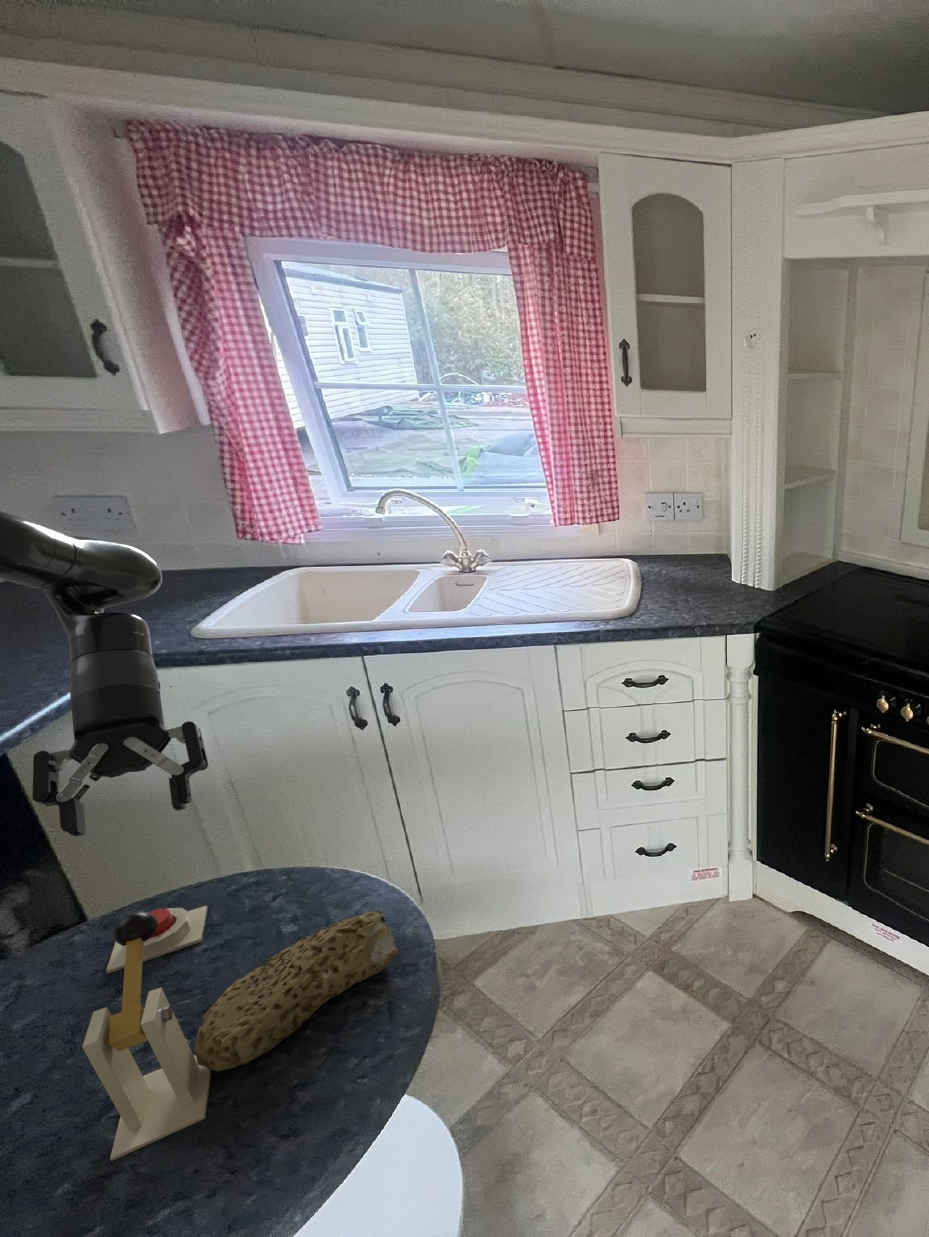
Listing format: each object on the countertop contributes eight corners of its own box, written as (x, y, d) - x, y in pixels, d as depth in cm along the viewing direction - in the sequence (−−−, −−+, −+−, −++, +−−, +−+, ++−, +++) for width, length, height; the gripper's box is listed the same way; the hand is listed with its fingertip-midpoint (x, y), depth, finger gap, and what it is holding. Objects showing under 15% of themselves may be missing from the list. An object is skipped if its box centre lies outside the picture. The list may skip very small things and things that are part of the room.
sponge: (377, 934, 93) (181, 1003, 78) (382, 892, 91) (180, 956, 76) (407, 1006, 86) (198, 1099, 71) (414, 964, 83) (198, 1050, 68)
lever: (121, 928, 73) (108, 914, 71) (163, 915, 75) (151, 901, 73) (112, 1057, 65) (97, 1045, 63) (158, 1038, 67) (146, 1027, 65)
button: (134, 944, 86) (129, 934, 85) (139, 925, 88) (135, 916, 88) (172, 932, 88) (167, 922, 87) (176, 914, 90) (172, 904, 90)
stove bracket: (132, 1088, 72) (84, 999, 67) (216, 1053, 76) (178, 966, 71) (113, 1166, 65) (59, 1073, 60) (207, 1123, 69) (163, 1032, 64)
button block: (109, 978, 84) (100, 961, 83) (121, 940, 89) (113, 924, 88) (203, 946, 89) (196, 929, 88) (209, 912, 94) (203, 896, 93)
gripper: (14, 699, 74) (23, 838, 70) (184, 670, 82) (201, 794, 78) (47, 719, 80) (57, 849, 76) (202, 690, 88) (219, 806, 84)
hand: (130, 821), depth 77 cm, fingers open, 8 cm apart
